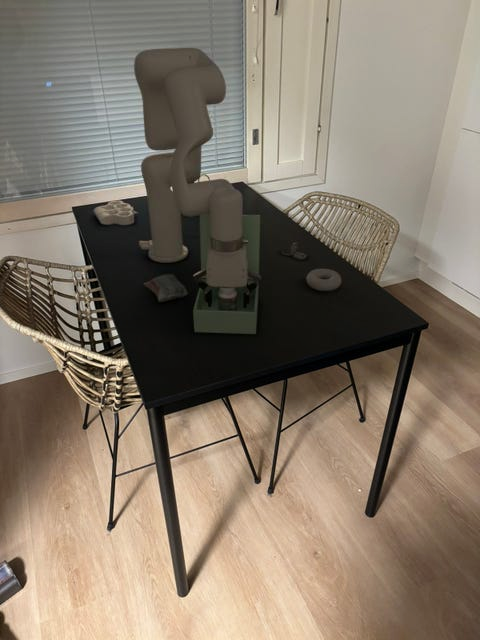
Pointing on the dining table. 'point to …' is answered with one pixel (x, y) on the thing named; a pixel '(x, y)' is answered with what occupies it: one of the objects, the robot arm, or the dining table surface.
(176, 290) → the packaged food
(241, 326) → the box
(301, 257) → the strap clip
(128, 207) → the beige paint palette tray
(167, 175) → the robot arm
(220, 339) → the dining table surface
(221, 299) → the pill bottle
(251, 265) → the lunchbox lid
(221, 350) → the dining table surface
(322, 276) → the donut
